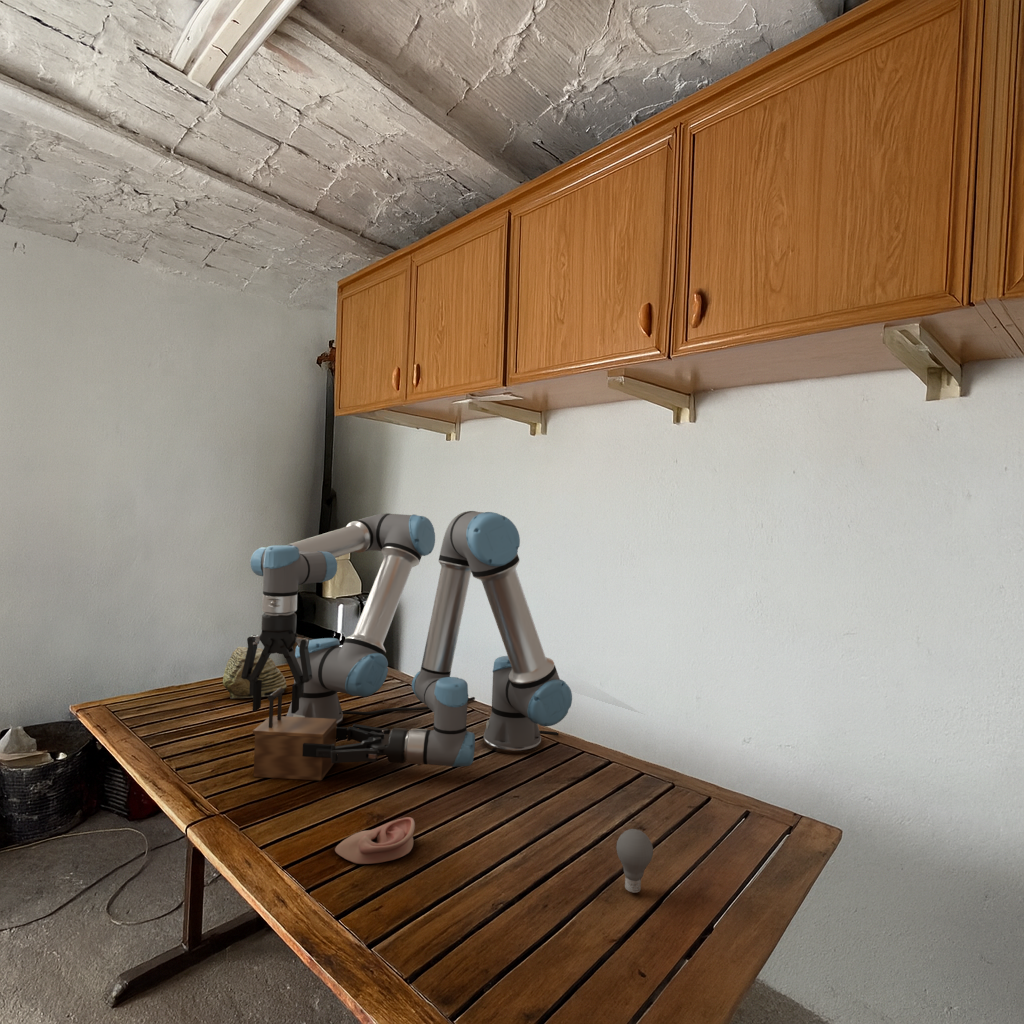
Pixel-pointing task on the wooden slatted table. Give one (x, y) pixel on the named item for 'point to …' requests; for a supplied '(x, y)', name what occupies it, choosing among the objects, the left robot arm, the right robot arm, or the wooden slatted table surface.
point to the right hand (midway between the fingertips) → (311, 740)
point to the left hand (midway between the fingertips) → (275, 710)
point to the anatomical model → (379, 843)
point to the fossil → (269, 674)
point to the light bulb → (634, 857)
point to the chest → (290, 757)
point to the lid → (292, 722)
